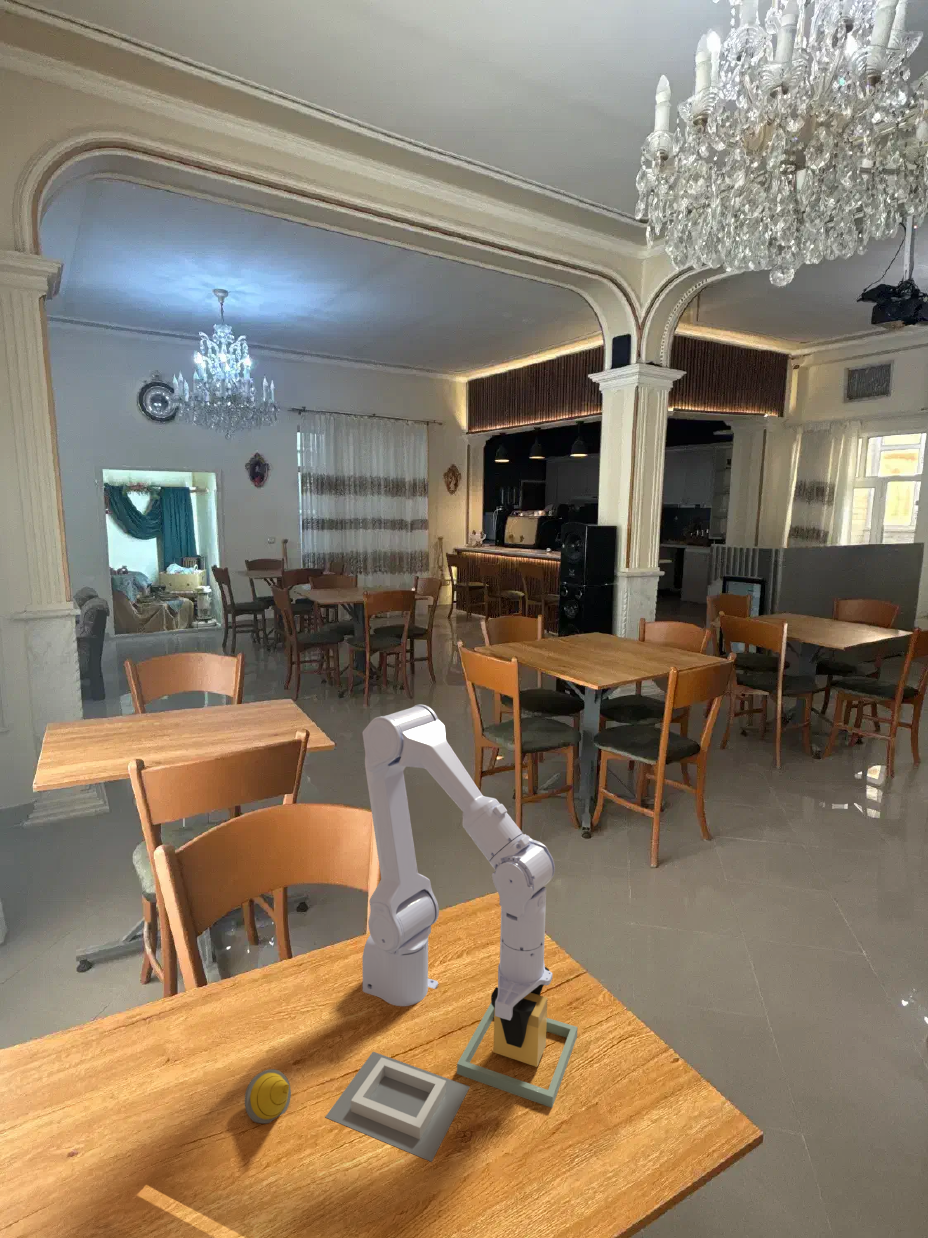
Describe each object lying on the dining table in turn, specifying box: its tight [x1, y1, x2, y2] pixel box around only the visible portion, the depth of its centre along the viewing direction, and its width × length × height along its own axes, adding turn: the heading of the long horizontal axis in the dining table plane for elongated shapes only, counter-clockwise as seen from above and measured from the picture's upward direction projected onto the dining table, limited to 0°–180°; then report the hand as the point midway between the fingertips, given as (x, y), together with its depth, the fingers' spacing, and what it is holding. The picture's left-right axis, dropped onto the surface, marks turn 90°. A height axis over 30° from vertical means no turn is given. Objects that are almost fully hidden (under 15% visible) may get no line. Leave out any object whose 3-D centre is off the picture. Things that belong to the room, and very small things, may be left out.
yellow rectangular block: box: [492, 993, 548, 1068], centre depth 89 cm, size 6×4×7 cm, turn 67°
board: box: [324, 1051, 470, 1163], centre depth 82 cm, size 14×11×2 cm
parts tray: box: [456, 1003, 578, 1109], centre depth 90 cm, size 13×13×2 cm
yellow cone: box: [244, 1068, 292, 1125], centre depth 80 cm, size 5×5×10 cm
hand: (519, 1032), depth 89 cm, fingers closed on yellow rectangular block, 4 cm apart
